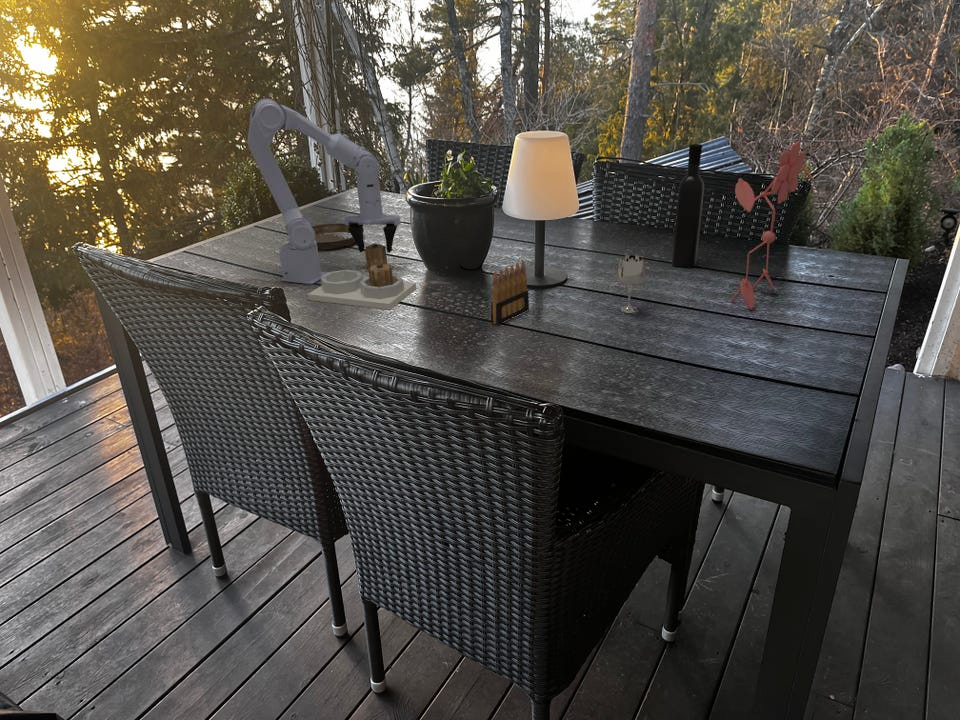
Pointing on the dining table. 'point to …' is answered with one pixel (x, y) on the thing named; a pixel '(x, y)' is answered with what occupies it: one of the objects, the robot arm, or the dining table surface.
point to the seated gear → (380, 275)
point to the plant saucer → (332, 236)
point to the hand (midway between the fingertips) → (375, 251)
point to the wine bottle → (689, 212)
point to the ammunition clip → (509, 294)
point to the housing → (360, 290)
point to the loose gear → (375, 255)
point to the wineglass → (630, 276)
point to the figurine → (783, 183)
